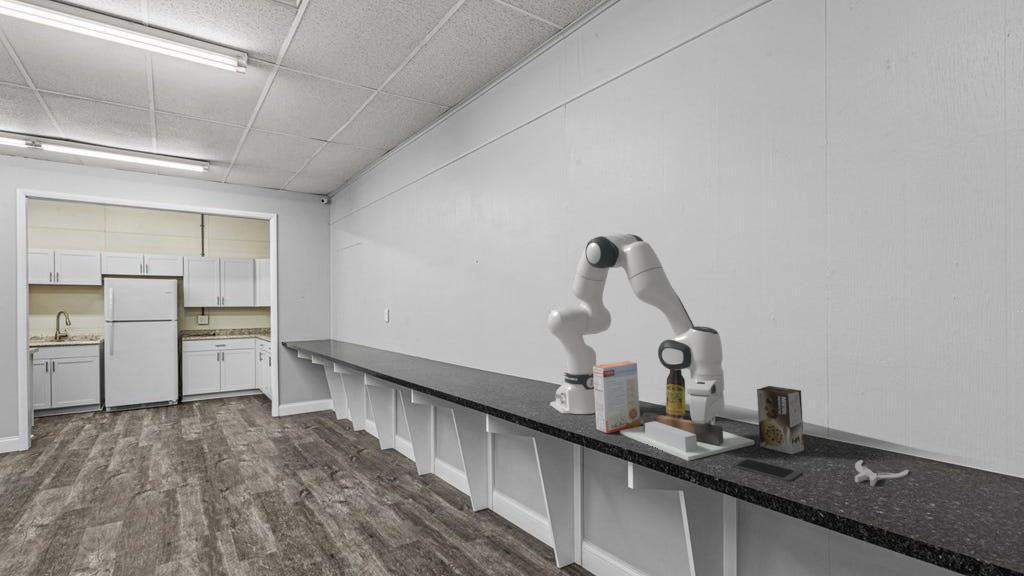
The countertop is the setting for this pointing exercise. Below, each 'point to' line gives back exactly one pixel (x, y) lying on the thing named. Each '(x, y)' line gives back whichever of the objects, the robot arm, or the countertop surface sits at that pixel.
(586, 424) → the countertop surface
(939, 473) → the countertop surface
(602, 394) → the cracker box
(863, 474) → the pliers
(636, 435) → the press board
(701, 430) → the lever
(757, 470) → the cell phone
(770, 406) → the coffee box
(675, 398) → the sauce bottle
